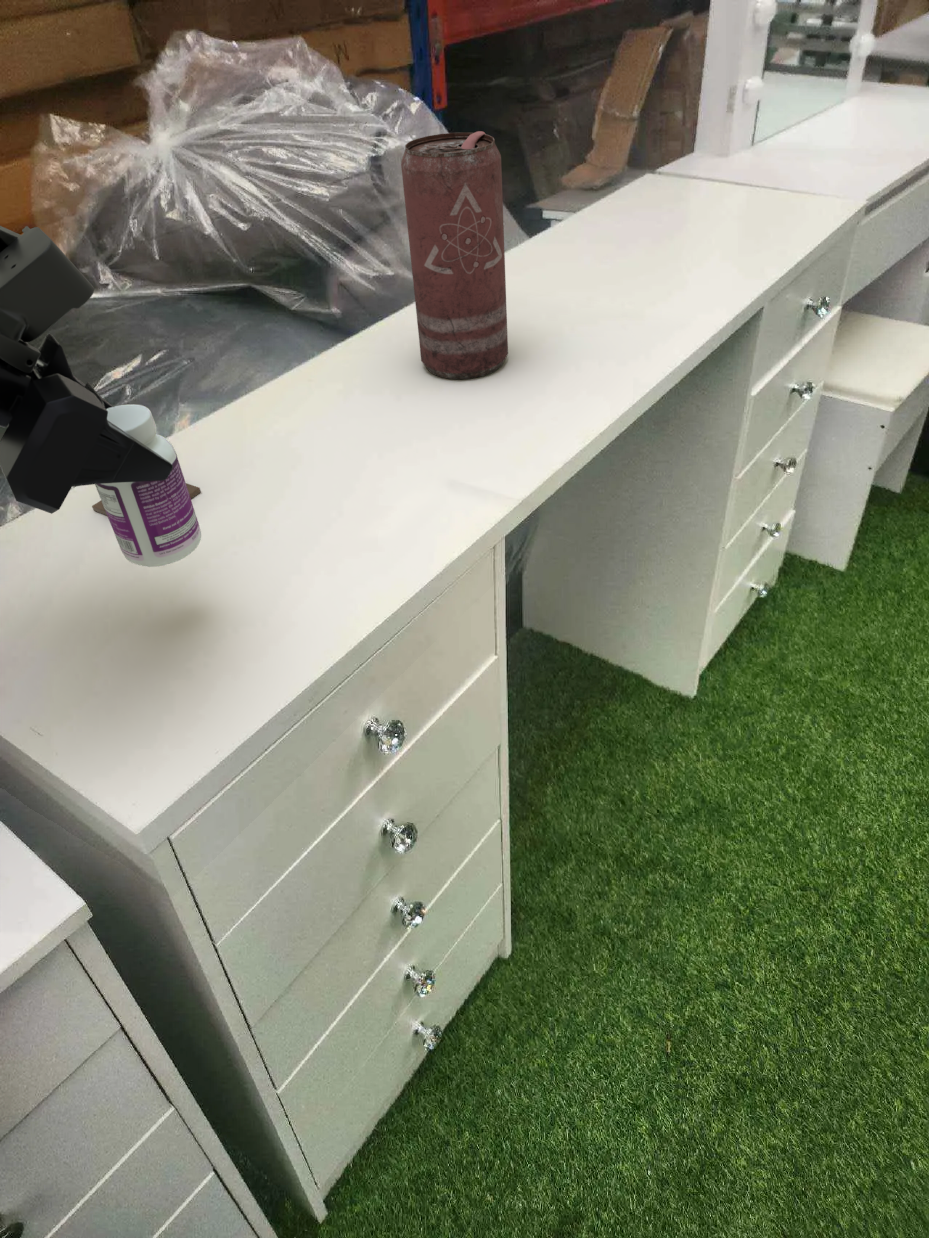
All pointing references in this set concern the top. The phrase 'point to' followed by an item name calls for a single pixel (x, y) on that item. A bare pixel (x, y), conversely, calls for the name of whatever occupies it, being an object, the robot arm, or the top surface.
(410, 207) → the can
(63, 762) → the top surface
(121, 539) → the pill bottle
